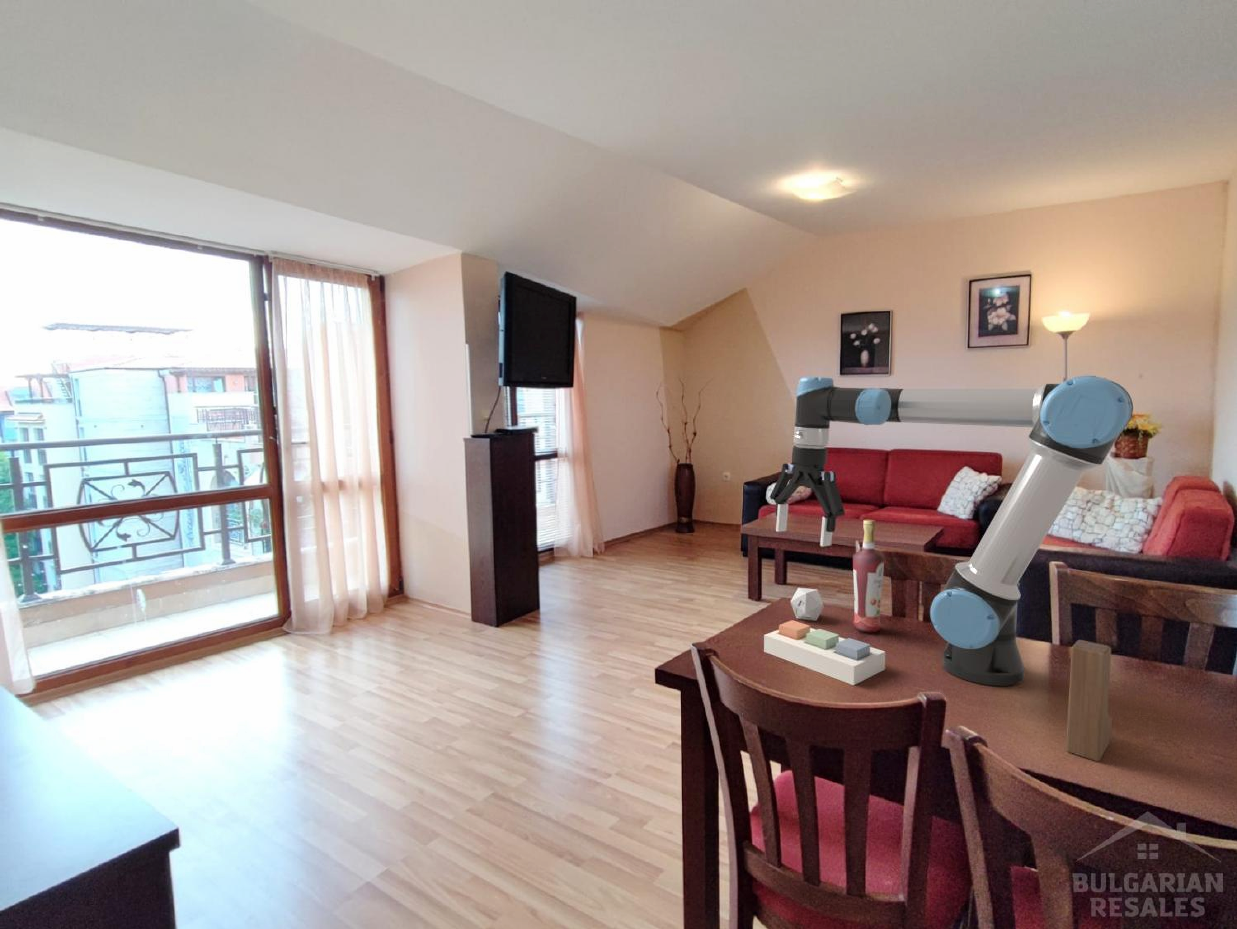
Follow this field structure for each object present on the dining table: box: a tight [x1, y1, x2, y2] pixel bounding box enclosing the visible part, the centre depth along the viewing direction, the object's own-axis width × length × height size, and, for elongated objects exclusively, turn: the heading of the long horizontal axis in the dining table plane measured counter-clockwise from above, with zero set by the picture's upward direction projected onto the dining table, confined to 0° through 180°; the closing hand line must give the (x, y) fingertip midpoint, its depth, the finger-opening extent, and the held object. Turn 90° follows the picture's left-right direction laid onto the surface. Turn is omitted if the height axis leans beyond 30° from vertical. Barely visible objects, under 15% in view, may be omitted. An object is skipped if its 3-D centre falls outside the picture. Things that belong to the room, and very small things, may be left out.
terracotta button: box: [778, 619, 811, 640], centre depth 147 cm, size 5×5×3 cm
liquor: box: [852, 519, 885, 634], centre depth 159 cm, size 7×7×28 cm
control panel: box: [763, 627, 886, 686], centre depth 141 cm, size 23×12×4 cm, turn 38°
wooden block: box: [1065, 639, 1113, 762], centre depth 104 cm, size 9×4×18 cm, turn 133°
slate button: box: [836, 637, 871, 661], centre depth 135 cm, size 5×5×3 cm
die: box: [790, 587, 824, 622], centre depth 169 cm, size 8×9×10 cm
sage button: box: [806, 628, 840, 650], centre depth 141 cm, size 5×5×3 cm
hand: (802, 538), depth 145 cm, fingers open, 13 cm apart
